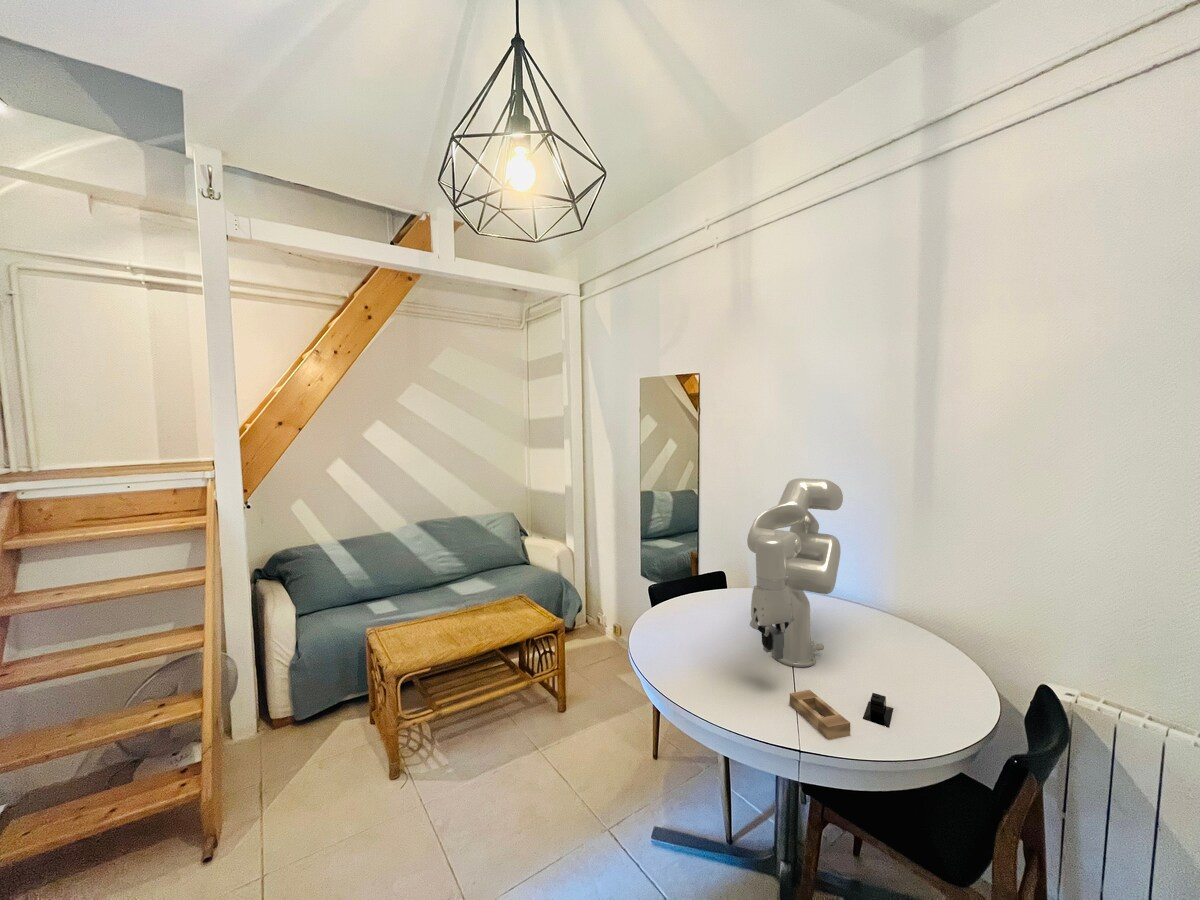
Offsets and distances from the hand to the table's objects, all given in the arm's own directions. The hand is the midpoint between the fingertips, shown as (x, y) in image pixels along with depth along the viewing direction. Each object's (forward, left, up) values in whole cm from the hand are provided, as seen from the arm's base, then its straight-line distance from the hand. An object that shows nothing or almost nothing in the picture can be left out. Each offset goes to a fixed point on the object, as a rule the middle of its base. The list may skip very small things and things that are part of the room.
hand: (772, 646), depth 124 cm
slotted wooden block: (-3, +15, -12) cm, 19 cm away
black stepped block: (-18, +17, -13) cm, 28 cm away
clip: (0, 0, -2) cm, 2 cm away
